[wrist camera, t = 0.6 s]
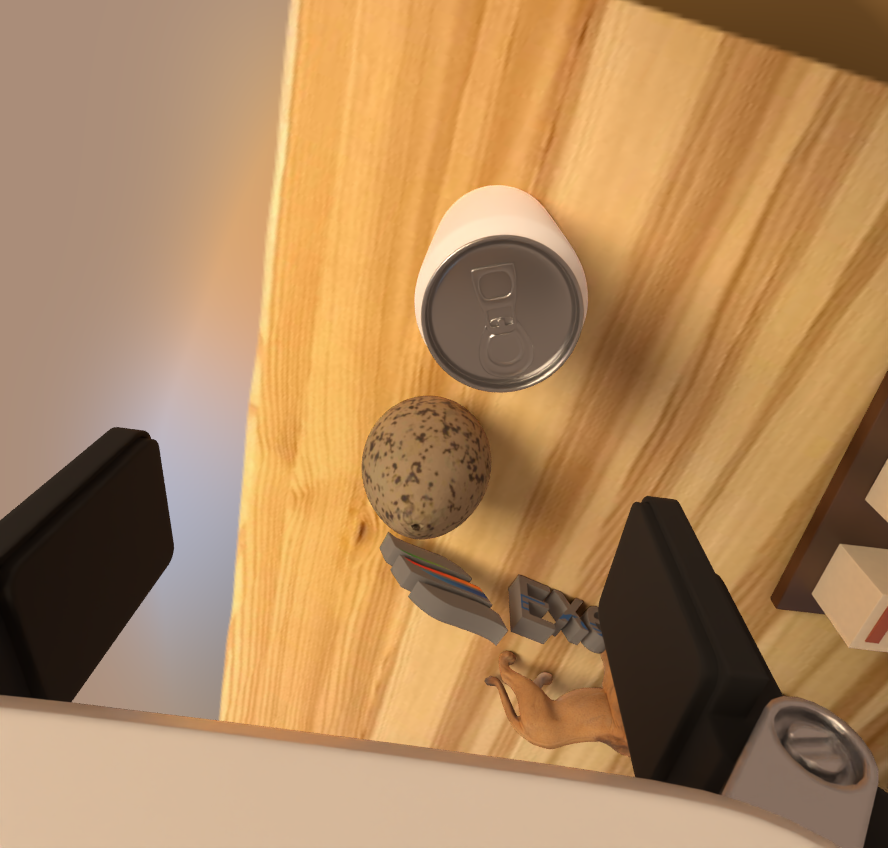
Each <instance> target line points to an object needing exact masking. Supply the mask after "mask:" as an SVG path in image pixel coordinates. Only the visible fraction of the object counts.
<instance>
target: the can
mask: <svg viewBox="0 0 888 848" xmlns="http://www.w3.org/2000/svg"><path fill="white" fill-rule="evenodd" d="M587 306H588V289H587V282H586V278H585V274H584V270H583V267H582V265H581V263H580V260H579V258H578V257H577V255H576V253H575V251H574V249H573V248H572V246H571V245H570V243H569V242H568V240H567V239H566V237H565V236H564V234H563V233H562V231H561V230H560V228H559V227H558V226H557V224H556V223H555V221H554V220H553V219H552V217H551V216H550V214H549V213H548V212H547V210H546V209H545V208H544V207H543V206H542V205H541V204H540V203H539V202H538V201H537V200H536V199H535V198H534V197H532V196H531V195H529V194H528V193H526V192H524V191H522V190H520V189H517V188H514V187H510V186H504V185H491V186H485V187H481V188H478V189H475V190H473V191H471V192H469V193H467V194H465V195H464V196H462V197H461V198H459V199H458V200H457V201H456V202H455V203H454V204H453V205H452V206H451V207H450V208H449V209H448V211H447V212H446V213H445V215H444V216H443V218H442V220H441V222H440V224H439V226H438V228H437V230H436V232H435V235H434V237H433V239H432V242H431V244H430V247H429V249H428V251H427V254H426V256H425V259H424V261H423V264H422V267H421V270H420V273H419V276H418V280H417V284H416V290H415V314H416V320H417V324H418V327H419V330H420V333H421V336H422V338H423V340H424V342H425V343H426V345H427V347H428V349H429V351H430V353H431V354H432V356H433V358H434V359H435V360H436V362H437V363H438V364H439V365H440V367H441V368H442V369H443V370H444V371H445V372H447V373H448V374H449V375H450V376H451V377H453V378H454V379H456V380H457V381H459V382H461V383H463V384H465V385H467V386H469V387H472V388H475V389H478V390H482V391H488V392H512V391H518V390H522V389H525V388H528V387H531V386H534V385H536V384H538V383H540V382H542V381H543V380H545V379H547V378H548V377H550V376H551V375H552V374H553V373H555V372H556V371H557V370H558V369H559V368H560V367H561V366H562V365H563V364H564V363H565V362H566V360H567V359H568V358H569V356H570V355H571V353H572V352H573V350H574V348H575V346H576V344H577V342H578V339H579V337H580V334H581V330H582V328H583V325H584V322H585V318H586V313H587Z"/></svg>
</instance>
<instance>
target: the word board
mask: <svg viewBox="0 0 888 848" xmlns="http://www.w3.org/2000/svg"><path fill="white" fill-rule="evenodd" d="M887 459H888V371H887V373H886V375H885V377H884V379H883V381H882V383H881V385H880V387H879V389H878V391H877V393H876V395H875V397H874V398H873V400H872V402H871V404H870V406H869V408H868V410H867V412H866V414H865V416H864V418H863V420H862V422H861V424H860V426H859V428H858V429H857V431H856V433H855V435H854V437H853V439H852V441H851V443H850V445H849V447H848V449H847V451H846V453H845V455H844V457H843V459H842V461H841V462H840V464H839V466H838V468H837V470H836V472H835V474H834V476H833V478H832V480H831V482H830V484H829V486H828V488H827V490H826V492H825V494H824V495H823V497H822V499H821V501H820V503H819V505H818V507H817V509H816V511H815V513H814V515H813V517H812V519H811V521H810V523H809V525H808V527H807V528H806V530H805V532H804V534H803V536H802V538H801V540H800V542H799V544H798V546H797V548H796V550H795V552H794V554H793V556H792V558H791V559H790V561H789V563H788V565H787V567H786V569H785V571H784V573H783V575H782V577H781V579H780V581H779V583H778V585H777V587H776V589H775V591H774V592H773V594H772V596H771V601H772V602H773V604H774V606H775V607H776V608H777V609H783V610H791V611H800V612H809V613H817V614H825V613H824V611H823V610H822V608H821V607H820V606H819V604H818V603H817V601H816V600H815V598H814V597H813V595H812V592H813V590H814V589H815V587H816V585H817V583H818V582H819V580H820V578H821V576H822V574H823V573H824V571H825V569H826V567H827V565H828V564H829V562H830V560H831V558H832V557H833V555H834V553H835V551H836V549H837V548H838V546H839V544H847V545H855V546H864V547H873V548H881V549H888V522H887V521H886V520H885V519H884V518H883V517H882V516H881V515H880V514H879V513H878V512H877V511H876V510H875V509H874V508H873V507H872V506H871V505H870V504H869V503H868V502H867V501H866V500H865V498H866V496H867V494H868V493H869V491H870V489H871V487H872V486H873V484H874V482H875V480H876V478H877V477H878V475H879V473H880V471H881V469H882V468H883V466H884V464H885V462H886V461H887Z"/></svg>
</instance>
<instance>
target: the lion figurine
mask: <svg viewBox="0 0 888 848" xmlns="http://www.w3.org/2000/svg"><path fill="white" fill-rule="evenodd" d="M601 658H602V661H603V663H604V679H603V683H602V686H603V688H581V689H575V690H572V691H569V692H567V693H566V694H564V695H562V696H561V697H559V698H558V699H557V700H555V701H554V700H551V699H550V698H549V697H548V696H547V695H546V694H545V693H544V692H543V690H542V689H541V688H542V686H543V685H549V684H551V683H552V680H553V677H552V675H551V674H550V673H546V672H543V673H540V674H539V675H538V676H537V677H536V678H535V680H534V681H532V680H530V679H528V678H526V677H525V676H522V675H521V674H519V673H517V672H515V671H513V670H512V669H510V668H509V665H512V664H513V663H514V662H515V660H516V656H515V655H514V654H513V653H512V652H510V651H505V652H502V653H501V655H500V657H499V668H500V673H501V678H502V681H503V682H504V683H505V684H507V685H509V686H510V687H511V688H512V690H513V691H514V693H515V695H516V697H517V700H518V704H519V711H520V716H517V715H516V713H515V711H514V709H513V706H512V704H511V702H510V700H509V697H508V695H507V692H506V690H505V688H504V686H503V684H502V683H501V681H500V680H499V679H498V678H496V677H492V676H489V677H488V678H486V679H485V683H486V684H487V685H490V686H496V687H497V688H498V690H499V694H500V697H501V700H502V704H503V707H504V710H505V713H506V715H507V717H508V719H509V721H510V723H511V725H512V726H513V728H514V729H515V730H516V732H517V733H519V734H520V735H521V736H522V737H523V738H525V739H526V740H528V741H529V742H530V743H532V744H534V745H536V746H539V747H542V748H546V749H554V748H558V747H561V746H565V745H569V744H573V743H580V742H598V741H600V742H603V743H606V744H607V745H609V746H610V747H612V748H613V749H614V750H615V751H617V752H618V753H620V754H622V755H625V756H628V757H631V756H630V752H629V748H628V744H627V739H626V735H625V731H624V726H623V722H622V718H621V713H620V709H619V705H618V700H617V696H616V692H615V687H614V683H613V679H612V674H611V670H610V666H609V661H608V657H607V653H606V650H605V651H604V652H603V653H601Z"/></svg>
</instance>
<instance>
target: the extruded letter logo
mask: <svg viewBox="0 0 888 848" xmlns="http://www.w3.org/2000/svg"><path fill="white" fill-rule="evenodd" d="M380 550H381V553H382V555H383V557H384V559H385V561H386V562H387V563H388V564H390V565H391V566H392V568H391V572H392V573H393V575H394V577H395V578H396V580H397V581H398V583H399V584H400V586H401V587H402V588H404V589H406V590H408V591H411V593H410V595H409V596H408V597H409V598H410V599H411V600H412V601H413V602H414V603H415V604H416V605H417V606H418V607H419V608H420V609H421V610H423V611H424V612H425V613H427V614H428V615H430V616H431V617H433V618H435V619H437V620H439V621H441V622H444V623H447V624H450V625H453V626H456V627H458V628H461V629H464V630H467V631H470V632H472V633H475V634H477V635H480V636H482V637H484V638H486V639H488V640H490V641H491V642H493V643H494V644H495V645H497V644H498V643H499V641H500V640H501V639H502V638H503V636H504V635H505V634H506V633H507V631H508V630H507V628H506V626H505V624H504V623H503V621H502V619H501V617H500V616H499V614H497V613H496V612H495V611H493V610H492V609H490V608H491V606H492V604H491V602H490V601H489V600H488V598H487V597H486V596H485V594H484V593H483V592H482V590H481V589H480V588H479V587H478V586H475V585H473V584H471V583H470V581H471V580H472V578H471V577H470V576H469V575H468V574H467V573H466V572H465V571H464V570H463V569H461V568H460V567H459V566H458V565H456V564H455V563H453V562H452V561H450V560H448V559H447V558H445V557H443V556H441V555H438V554H435V553H432V552H430V551H427V550H424V549H422V548H419V547H417V546H414V545H411V544H409V543H406V542H404V541H402V540H400V539H398V538H396V537H394V536H393V535H392V534H391V533H389V532H388V533H387V535H386V537H385V539H384V541H383V542H382V544H381V546H380ZM549 593H550V588H549V587H548V586H545V585H543V584H540V583H538V582H536V581H533V580H531V579H528V578H526V577H524V576H521V575H518V576H517V578H516V579H515V580H514V582H513V583H512V585H511V586H510V587H509V608H510V626H511V632H514V633H516V634H519V635H521V636H524V637H526V638H529V639H531V640H534V641H536V642H539V643H541V644H544V643H545V642H546V641H547V639H548V638H549V637H550V636H551V635H553V636H556V635H557V634H558V633H559V632H560V631H561V630H562V632H563V633H564V635H565V637H566V638H567V640H568V641H569V642H570V643H573V644H575V645H578V644H579V643H580V641H581V643H582V644H583V645H584V646H585V647H586V648H587V649H589V650H590V651H592V652H595V653H603V652H604V651H605V650H606V648H605V644H604V640H603V636H602V631H601V627H600V623H599V617H598V607H596V606H590V607H589V608H588V609H587V610H586V611H585V612H584V614H583V615H582V616H581V617H580V618H579V616H578V615H577V614H576V612H575V611H576V610H577V609H578V608H579V606H580V605H581V604H582V603H583V601H581V600H579V599H576V598H575V599H574V601H573V602H572V603H571V604H569V602H568V601H567V599H566V598H565V596H564V595H563V594H562V592H560V591H557V590H555V589H553V591H552V592H551V593H550V594H549ZM548 594H549V596H548ZM547 596H548V597H547ZM546 597H547V598H546ZM545 598H546V599H545ZM544 599H545V601H544ZM543 601H544V602H543ZM547 611H549V613H550V614H551V616H552V617H553V618H554V620H555V621H556V623H555V624H553V623H551V622H548V621H546V620H543V619H542V617H543V616H544V615H545V614H546V612H547Z"/></svg>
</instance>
